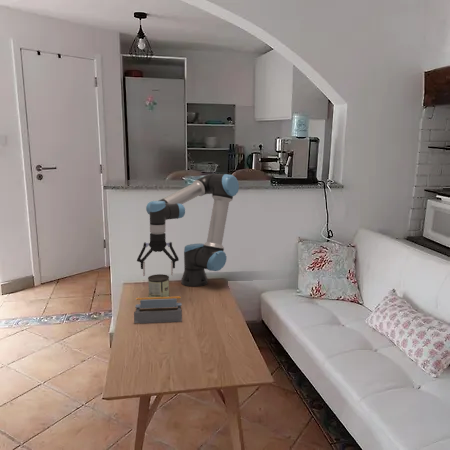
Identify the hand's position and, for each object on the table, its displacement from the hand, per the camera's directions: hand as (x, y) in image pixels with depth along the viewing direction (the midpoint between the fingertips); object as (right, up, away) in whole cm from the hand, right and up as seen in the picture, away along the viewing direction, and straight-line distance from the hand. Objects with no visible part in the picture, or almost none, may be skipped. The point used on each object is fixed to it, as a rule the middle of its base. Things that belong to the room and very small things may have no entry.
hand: (158, 275), depth 213 cm
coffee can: (0, -15, +3) cm, 15 cm away
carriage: (+1, -15, -5) cm, 16 cm away
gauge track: (+2, -17, -12) cm, 21 cm away
